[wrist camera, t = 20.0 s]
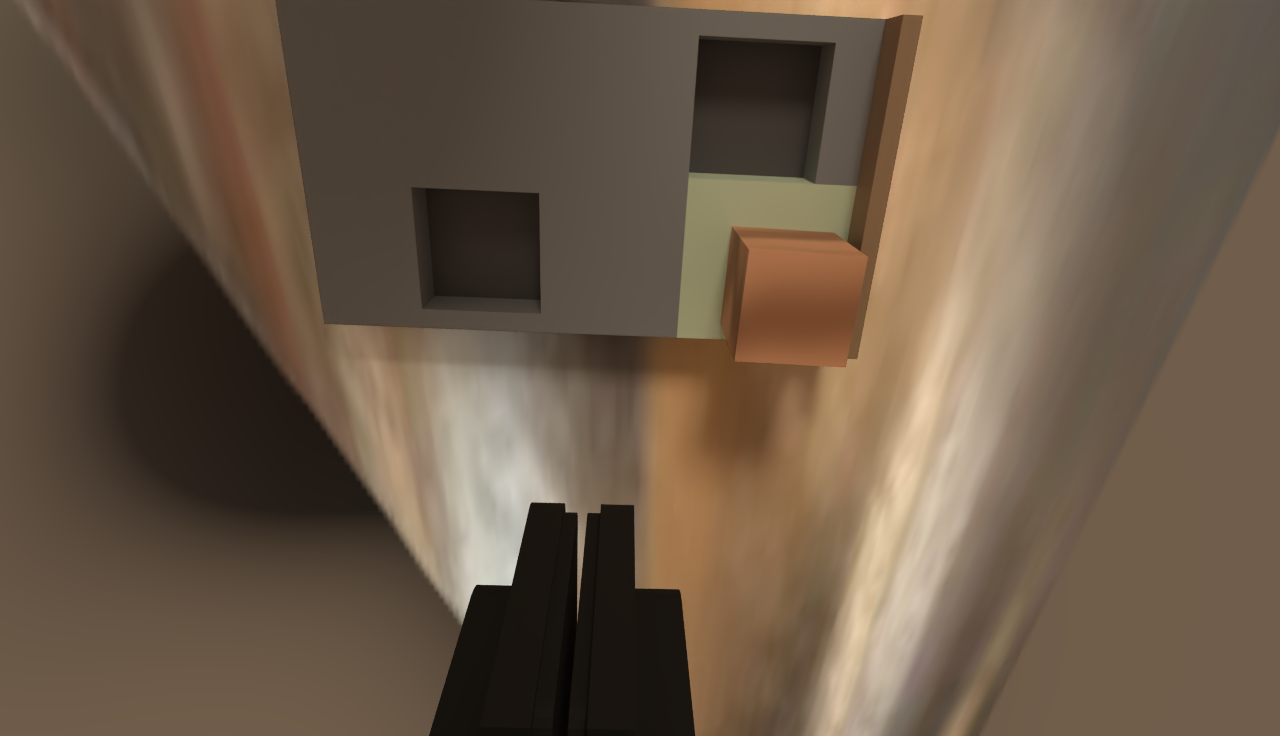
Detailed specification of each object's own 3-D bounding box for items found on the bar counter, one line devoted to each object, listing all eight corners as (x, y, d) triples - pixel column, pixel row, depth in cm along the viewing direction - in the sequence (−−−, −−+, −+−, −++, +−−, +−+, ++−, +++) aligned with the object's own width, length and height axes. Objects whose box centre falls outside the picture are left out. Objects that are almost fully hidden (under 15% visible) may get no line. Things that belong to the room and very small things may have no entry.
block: (731, 226, 32) (749, 249, 27) (833, 232, 32) (868, 257, 27) (720, 323, 34) (734, 361, 29) (816, 329, 34) (845, 367, 29)
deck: (300, -7, 30) (247, -22, 26) (883, 25, 31) (923, 15, 26) (344, 308, 36) (306, 337, 32) (831, 328, 36) (857, 359, 32)
